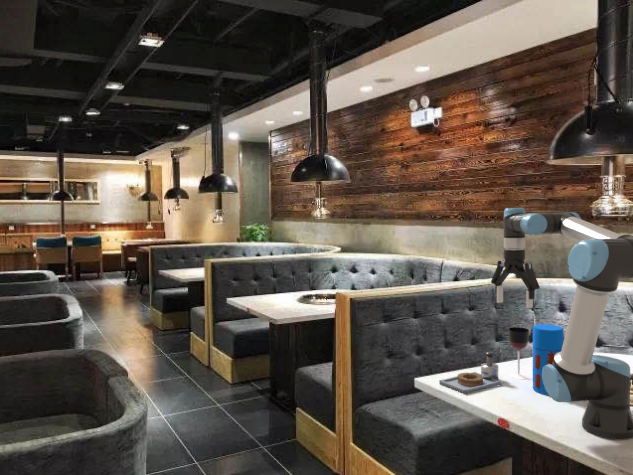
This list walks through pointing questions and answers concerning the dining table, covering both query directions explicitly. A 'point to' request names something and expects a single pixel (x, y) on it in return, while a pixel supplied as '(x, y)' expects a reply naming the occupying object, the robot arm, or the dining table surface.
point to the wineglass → (518, 345)
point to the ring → (470, 379)
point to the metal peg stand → (489, 368)
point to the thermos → (544, 351)
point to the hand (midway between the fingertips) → (514, 305)
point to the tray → (456, 386)
